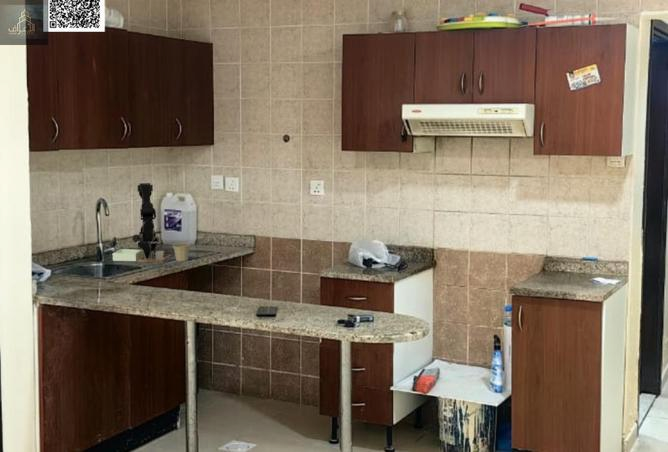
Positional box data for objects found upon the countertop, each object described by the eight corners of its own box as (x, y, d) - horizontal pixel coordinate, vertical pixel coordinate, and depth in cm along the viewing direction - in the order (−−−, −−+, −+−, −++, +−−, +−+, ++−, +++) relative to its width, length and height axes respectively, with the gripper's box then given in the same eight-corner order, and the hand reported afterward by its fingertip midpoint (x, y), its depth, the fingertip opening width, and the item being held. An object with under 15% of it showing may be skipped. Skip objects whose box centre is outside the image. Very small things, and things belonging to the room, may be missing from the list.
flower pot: (170, 262, 532) (169, 246, 530) (177, 259, 541) (177, 243, 539) (186, 262, 529) (185, 246, 528) (193, 259, 538) (193, 244, 537)
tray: (147, 256, 548) (147, 254, 548) (171, 257, 546) (171, 254, 546) (137, 262, 532) (136, 259, 532) (162, 262, 530) (162, 260, 529)
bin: (121, 257, 547) (121, 249, 547) (143, 257, 546) (143, 249, 545) (112, 261, 535) (112, 253, 534) (135, 262, 533) (135, 253, 532)
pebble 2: (156, 258, 540) (156, 251, 540) (164, 258, 541) (163, 250, 540) (155, 259, 536) (155, 252, 536) (163, 259, 537) (162, 252, 536)
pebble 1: (147, 257, 542) (146, 250, 541) (154, 258, 541) (153, 250, 540) (144, 259, 538) (144, 251, 537) (151, 259, 537) (151, 252, 537)
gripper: (139, 226, 547) (140, 254, 550) (128, 231, 529) (129, 260, 531) (159, 226, 546) (160, 254, 548) (147, 231, 527) (149, 260, 530)
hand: (149, 257), depth 539 cm, fingers open, 7 cm apart
